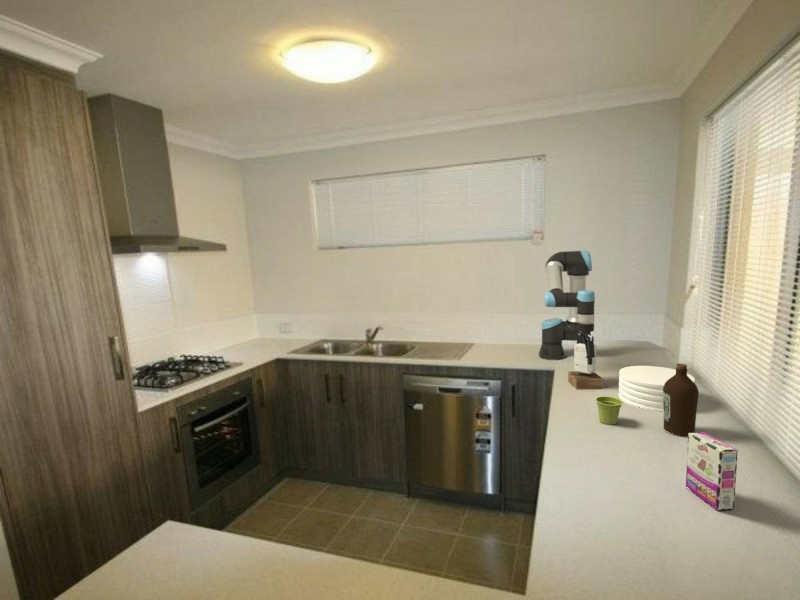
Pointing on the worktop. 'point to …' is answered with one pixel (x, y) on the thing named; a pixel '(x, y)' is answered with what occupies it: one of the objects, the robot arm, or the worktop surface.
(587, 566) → the worktop surface
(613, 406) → the plant pot
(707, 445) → the candy bar box
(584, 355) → the small box
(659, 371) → the plate stack
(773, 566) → the worktop surface
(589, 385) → the block
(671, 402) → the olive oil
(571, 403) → the worktop surface
